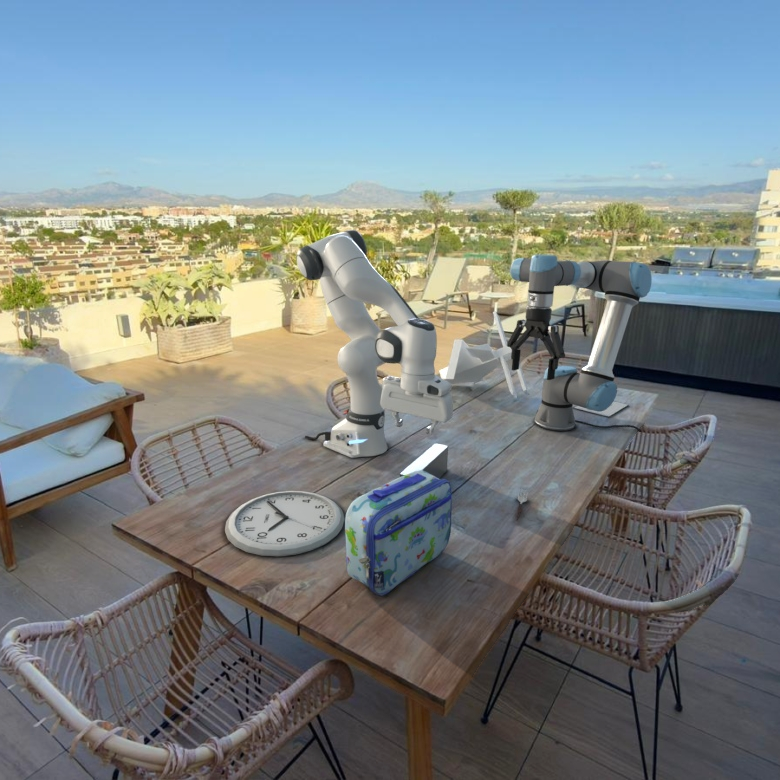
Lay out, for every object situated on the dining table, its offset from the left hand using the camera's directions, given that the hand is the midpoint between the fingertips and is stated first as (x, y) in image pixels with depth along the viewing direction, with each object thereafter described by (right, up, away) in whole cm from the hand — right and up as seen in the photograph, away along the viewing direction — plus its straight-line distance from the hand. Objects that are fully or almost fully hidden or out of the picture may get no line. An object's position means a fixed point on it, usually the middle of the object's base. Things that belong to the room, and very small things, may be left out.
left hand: (414, 429), depth 142 cm
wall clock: (-33, -23, -8) cm, 41 cm away
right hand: (+39, +16, +23) cm, 48 cm away
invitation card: (+85, +4, +84) cm, 119 cm away
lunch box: (-4, -29, -25) cm, 39 cm away
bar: (+4, -17, +13) cm, 22 cm away
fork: (+29, -22, +1) cm, 36 cm away
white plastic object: (+35, +10, +101) cm, 107 cm away
